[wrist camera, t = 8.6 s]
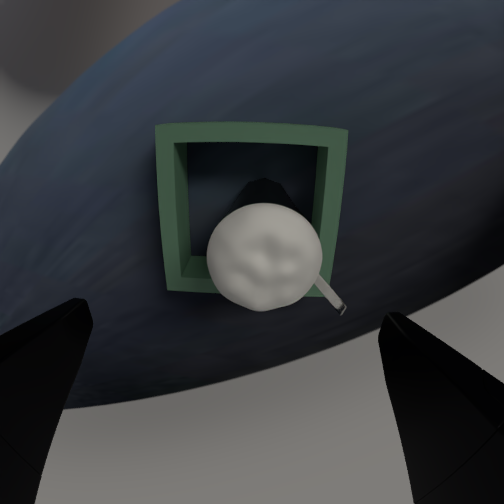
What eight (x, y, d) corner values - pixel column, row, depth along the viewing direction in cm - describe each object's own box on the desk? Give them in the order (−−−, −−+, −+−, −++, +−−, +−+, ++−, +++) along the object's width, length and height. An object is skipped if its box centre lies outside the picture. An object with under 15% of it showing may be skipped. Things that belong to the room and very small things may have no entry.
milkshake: (294, 249, 21) (315, 354, 12) (218, 222, 20) (183, 316, 11) (322, 187, 19) (375, 259, 10) (241, 157, 18) (220, 202, 9)
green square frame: (335, 127, 17) (348, 130, 14) (319, 273, 21) (327, 296, 19) (171, 123, 17) (155, 125, 14) (178, 267, 21) (167, 290, 19)
